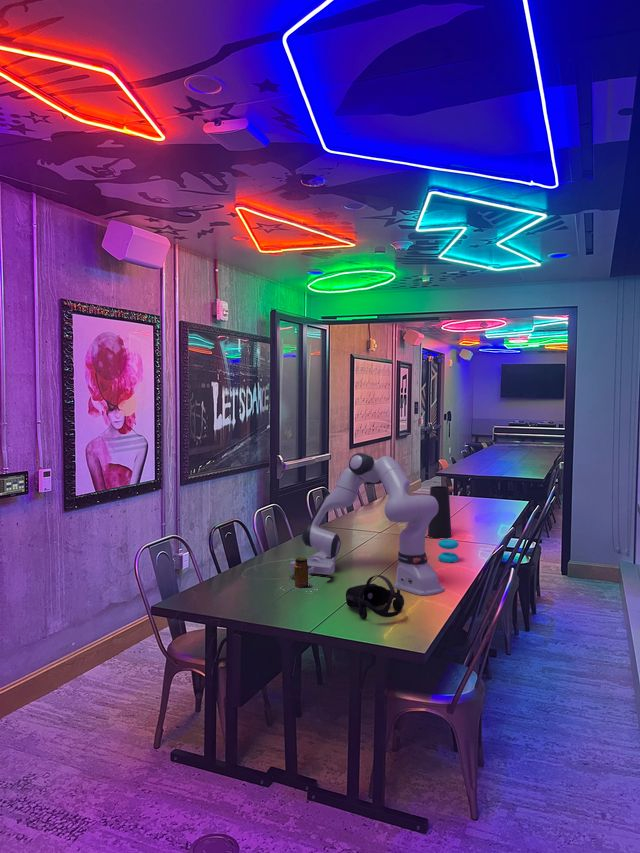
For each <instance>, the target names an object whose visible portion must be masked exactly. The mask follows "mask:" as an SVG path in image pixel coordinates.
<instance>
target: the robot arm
mask: <svg viewBox="0 0 640 853" xmlns="http://www.w3.org/2000/svg"><path fill="white" fill-rule="evenodd" d="M364 483H365V485H380V484H382V485H383V487H384V488H385V490H386V492H387V495H388V500H387V501H386V503H385V506H384V514H385V516H386V518H387V519H388V520H389V521H390V522H391V523H392V522H393V523H401V524H402V523H407V522H408V523H407V524H406V527H405V528H404V529H403V530H401V532H400V533H399V538H398V539H399V540H398V542H399V544H398V546H399V551H398V555H397V558H398V559H397V560H398V565H397V567H396V576H395V578H396V579H395V583H394V584H393V585H394V586H393V587H394V589H398V590H400V591H401V590H402V591H405V592H409V593H411V594H415V595H418V596H431V595H436V594H440V593H442V592H444V591H445V587H444V586H442V585H440V584H439V583H440V582H439V576H438V574H437V572H436V571H435V570H434V569H433V568H432V566H431V565H430V564H429V562H428V560H429V556H427V553H426V550H425V549H426V535H427V532H428V526H429V523H430V522H431V520H432V519H433V518H434V517H435V516H436V515H437V513H438V509H439V506H438V502H437V500H436V499H435V498H434V497H433V496H430V494H416V495H409V494H408V492H409V491H410V489H411V481H410V479H409V478H408V476H407V475H406V474H405V472H404V470H403V468H402V467H401V466H400V464H398V462H397V461H396V460H395V459H394V458H393V457H392V456H389V455H384V456H381V457H379V458H378V459H376V458H373V456H371V455H368V454H366V453H362V452H357V453H355V454H352V456H351V458H350V459H349V461H348V467H346V468H344V469H343V471H342V472H341V474H340V476H339V478H338V480H337V483H336V485H335V487H334V489H333V491H332V492H331V493H330V494H327V495H325V496H324V498H322V500H321V502H320V503H319V505H318V507H317V509H316V511H315V512H314V513H313V515H312V518H311V520H310V521H309V523H308V524H307V525H306V527H305V528H304V530H303V532H302V534H301V540H302V543H303V544H304V545H305V546H306V547H309V548H314V549H317V550H318V551H317V552H315V553H313V554H312V555H310V556H309V557H308V559H307V565H308V574H309V575H310V574H314V575H318V574H319V575H327V576H330V575H333V574H334V573H335V572H336V571H335V570H336V562H335V561H336V559H337V556H338V554H339V552H340V549H341V546H342V543H341V542H342V541H341V538H340V536H339V534H338V533H335V532H333V531H330V530H326V529H324V528H320V527H319V526H320V524H321V523H322V521H323V519H324V517H325V516H326V514H327V512H328V511H331V510H337V509H347V508H349V507H351V506H352V505H354V503H355V501H356V499H357V496H358V493H359V491H360V488H361V487H362V486H361V485H362V484H364ZM294 566H295V560H292V561H290V563H289V569H290V571H291V572H292V571H293V572H294Z"/></svg>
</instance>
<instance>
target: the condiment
mask: <svg viewBox="0 0 640 853" xmlns="http://www.w3.org/2000/svg"><path fill="white" fill-rule="evenodd" d="M307 560H308V559H307V558H306V557H297V558H295V559H294V561H295V566H294V571H293V572H294V574H293V575H294V579H295V587H294V588H295V589H302V588H312V587H314V586H313V584H312V583H308V565H307ZM308 584H309V586H308ZM293 585H294V584H293ZM310 585H311V586H310Z"/></svg>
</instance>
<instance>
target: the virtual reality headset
mask: <svg viewBox="0 0 640 853" xmlns="http://www.w3.org/2000/svg"><path fill="white" fill-rule="evenodd" d="M376 577H378V578H380V579H382V580H383V581H384V583H386V584H387V586H388V589H387V588H386V587H385V586H381V585H379V584H378V585H377V584H376V583H371V582H372V580H373V579H375V578H376ZM393 585H394V584H392V582H391V581H390V579H388V577H386V576H384V575H381V574H375V575H373V576H370V577H369V578H368V579H367V581H366V583H365V584H359V585H354V586H351V587H349V588H347V589H346V591H345V601H346V602H345V603H346V605H347V607H349V608H355V609H358V615H359V617H360V619H362V620H365V619H367V617H368V610H367V608H369V609H370V610H371V611H372V612H373V613H374V614H376V615H378V616H380V617H383V618H393V617H396V616H398V615H400V613H401V612H402V610H403V608H404V605H405V598H404V596H403V595H402V594H401V589H398V588H396V589H395V587H394V586H393ZM382 606H384V607H383V608H380V607H382ZM391 606H392V608H393V609H394V611H389V610H390V609H391ZM379 608H380V609H379Z"/></svg>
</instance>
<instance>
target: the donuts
mask: <svg viewBox="0 0 640 853" xmlns="http://www.w3.org/2000/svg"><path fill="white" fill-rule="evenodd" d="M437 543H438V544H437V545H438V547H440V548H441V549H443V550H455V549H457V548H458V547H459V544H460V543H459V541H457V540H455V539H450V538H446V539H439V541H438V542H437ZM437 557H438V561H440V562H442V563H447V562H448V563H449V564H451V563H452V562H453V563H456V562H458V561H459V559H460V557H459V555H458V554H457V553H455V552H451V551H450V552H449V551H445V552H441V553H439V554H438V556H437ZM453 563H452V564H453Z"/></svg>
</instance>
